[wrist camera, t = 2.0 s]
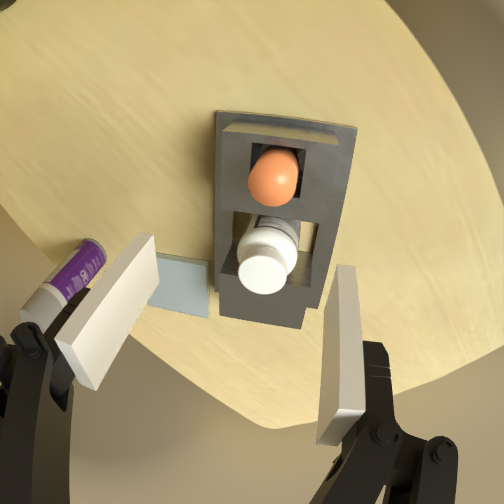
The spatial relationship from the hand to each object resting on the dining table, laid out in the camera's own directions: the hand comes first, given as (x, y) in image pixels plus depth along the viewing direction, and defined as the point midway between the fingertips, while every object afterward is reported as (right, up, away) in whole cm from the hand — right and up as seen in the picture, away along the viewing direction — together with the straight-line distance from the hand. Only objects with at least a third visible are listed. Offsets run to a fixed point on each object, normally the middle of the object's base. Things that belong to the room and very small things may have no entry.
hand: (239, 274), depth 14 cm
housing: (+3, +4, +20) cm, 21 cm away
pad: (-9, -3, +28) cm, 30 cm away
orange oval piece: (+3, +8, +12) cm, 15 cm away
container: (-22, +1, +28) cm, 36 cm away
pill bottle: (+3, +5, +20) cm, 21 cm away
